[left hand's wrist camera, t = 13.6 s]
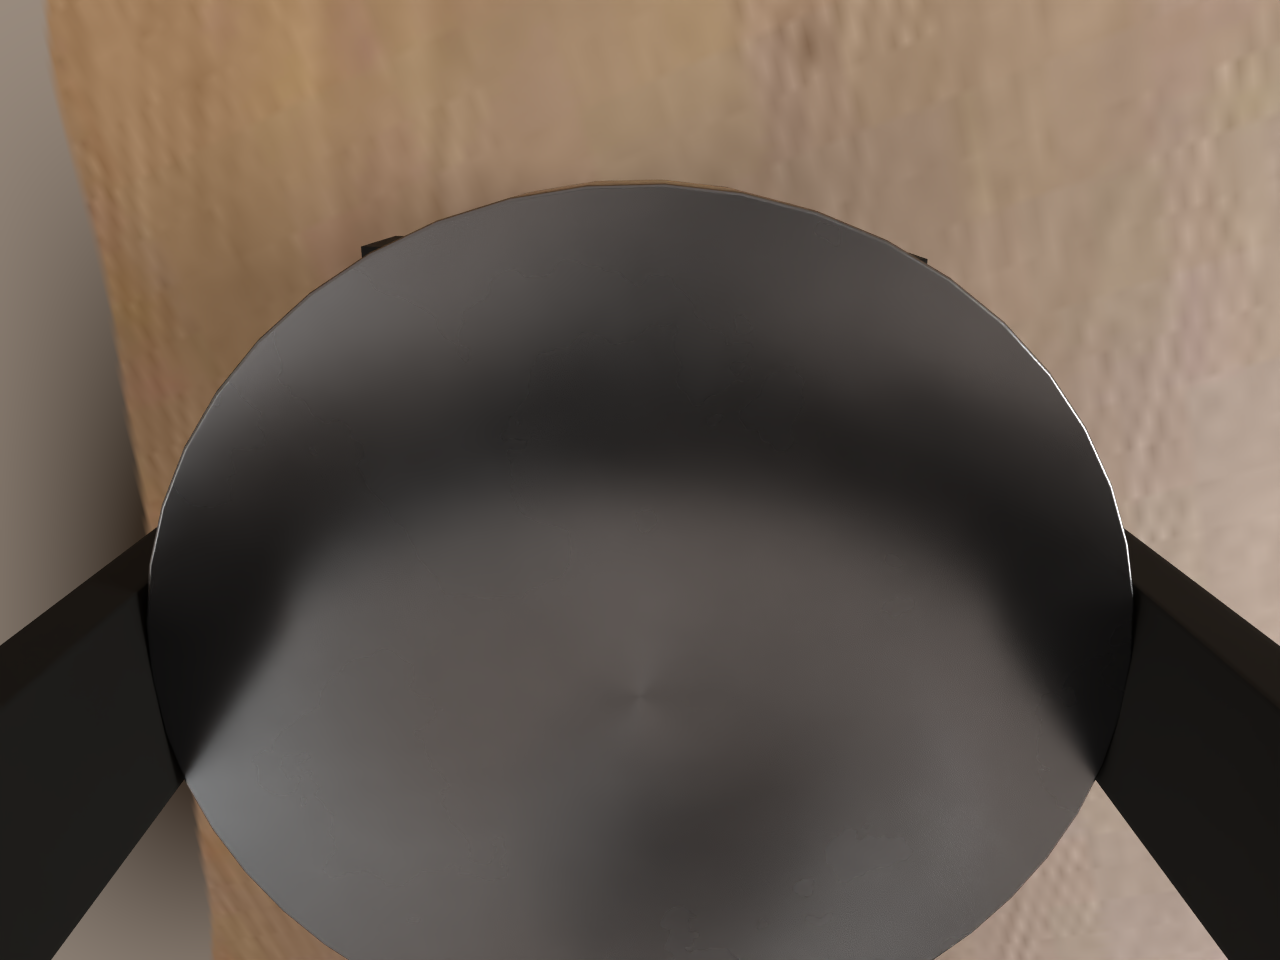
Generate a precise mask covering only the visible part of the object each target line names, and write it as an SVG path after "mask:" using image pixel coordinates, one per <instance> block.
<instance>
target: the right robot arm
mask: <svg viewBox="0 0 1280 960" xmlns="http://www.w3.org/2000/svg"><path fill="white" fill-rule="evenodd" d="M402 237H404V236H394V237H391V238H388V239H384V240H381V241H378V242H374V243H371V244H368V245H365V246H361V252H362V258H363V257H364V256H366V255H367V254H369V253H370V252H372V251H375V250H377V249H379V248H381V247H383V246H385V245H387V244H389V243H391V242H393V241H395V240H398V239H400V238H402ZM909 254H911V253H909ZM911 255H913V256H914V257H916V258H918V259H919V260H921V261H923V262H924V263H926V264H927V259H925V258H922V257H919V256H917V255H914V254H911Z"/></svg>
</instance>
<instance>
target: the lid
mask: <svg viewBox="0 0 1280 960" xmlns="http://www.w3.org/2000/svg"><path fill="white" fill-rule="evenodd" d="M1133 615H1134V597H1133V588H1132V579H1131V570H1130V561H1129V552H1128V543H1127V539H1126V536H1125V532H1124V528H1123V525H1122V521H1121V517H1120V514H1119V510H1118V506H1117V503H1116V499H1115V495H1114V492H1113V488H1112V485H1111V482H1110V480H1109V478H1108V476H1107V473H1106V471H1105V469H1104V467H1103V464H1102V462H1101V460H1100V458H1099V456H1098V453H1097V451H1096V449H1095V447H1094V445H1093V442H1092V440H1091V438H1090V436H1089V433H1088V431H1087V429H1086V427H1085V425H1084V424H1083V422H1082V421H1081V419H1080V418H1079V416H1078V415H1077V413H1076V412H1075V410H1074V409H1073V407H1072V406H1071V404H1070V403H1069V401H1068V400H1067V398H1066V396H1065V395H1064V393H1063V392H1062V390H1061V389H1060V387H1059V386H1058V384H1057V383H1056V381H1055V380H1054V378H1053V377H1052V375H1051V374H1050V372H1049V371H1048V370H1047V369H1046V368H1045V367H1044V366H1043V364H1042V363H1041V362H1040V361H1039V360H1038V359H1037V358H1036V357H1035V356H1034V355H1033V353H1032V352H1031V351H1030V350H1029V349H1028V348H1027V347H1026V346H1025V345H1024V343H1023V342H1022V341H1021V340H1020V339H1019V338H1018V337H1017V336H1016V335H1015V334H1014V332H1013V331H1012V330H1011V329H1010V328H1009V327H1008V326H1007V325H1006V324H1005V322H1003V321H1002V320H1001V319H1000V318H998V317H997V316H996V315H995V314H994V313H992V312H991V311H990V310H989V309H987V308H986V307H985V306H984V305H983V304H981V303H980V302H979V301H978V300H976V299H975V298H974V297H973V296H972V295H970V294H969V293H968V292H967V291H965V290H964V289H963V288H962V287H961V286H959V285H958V284H957V283H956V282H954V281H953V280H952V279H951V278H949V277H948V276H946V275H944V274H943V273H941V272H939V271H938V270H936V269H934V268H933V267H931V266H929V265H928V264H926V263H924V262H923V261H921V260H919V259H918V258H916V257H914V256H913V255H911V254H909V253H908V252H906V251H904V250H902V249H901V248H899V247H897V246H896V245H894V244H892V243H891V242H889V241H887V240H885V239H883V238H880V237H878V236H876V235H873V234H871V233H868V232H866V231H864V230H861V229H859V228H856V227H854V226H852V225H849V224H847V223H844V222H842V221H839V220H837V219H835V218H832V217H830V216H827V215H825V214H823V213H820V212H818V211H815V210H811V209H807V208H804V207H800V206H797V205H793V204H790V203H786V202H782V201H778V200H774V199H770V198H767V197H763V196H759V195H755V194H751V193H747V192H743V191H739V190H736V189H732V188H728V187H721V186H712V185H703V184H695V183H686V182H677V181H668V180H629V181H594V182H588V183H582V184H576V185H570V186H564V187H558V188H552V189H546V190H540V191H534V192H529V193H526V194H522V195H518V196H515V197H511V198H508V199H505V200H501V201H498V202H495V203H492V204H489V205H485V206H482V207H479V208H476V209H473V210H469V211H466V212H463V213H460V214H457V215H453V216H450V217H447V218H444V219H441V220H437V221H435V222H433V223H431V224H429V225H427V226H425V227H423V228H421V229H419V230H416V231H414V232H412V233H410V234H408V235H406V236H404V237H402V238H400V239H398V240H395V241H393V242H391V243H389V244H387V245H385V246H383V247H381V248H379V249H377V250H375V251H372V252H370V253H369V254H367V255H366V256H364V257H363V258H361V259H360V260H358V261H357V262H355V263H354V264H352V265H351V266H349V267H348V268H346V269H345V270H343V271H342V272H340V273H339V274H337V275H336V276H334V277H333V278H331V279H330V280H328V281H327V282H325V283H324V284H322V285H321V286H319V287H318V288H316V289H315V290H313V291H312V292H311V293H309V294H308V295H307V296H306V297H305V298H304V299H303V300H302V301H300V302H299V303H298V304H297V305H296V306H295V307H294V308H293V309H292V310H291V311H289V312H288V313H287V314H286V315H285V316H284V317H283V318H282V319H281V320H280V321H279V322H277V323H276V324H275V325H274V326H273V327H272V328H271V329H270V330H269V331H268V332H266V333H265V334H264V335H263V336H262V337H261V338H260V339H259V340H258V341H257V342H256V343H255V345H254V346H253V347H252V348H251V350H250V351H249V352H248V353H247V355H246V356H245V357H244V358H243V360H242V361H241V362H240V363H239V364H238V366H237V367H236V368H235V369H234V371H233V372H232V373H231V374H230V376H229V377H228V378H227V379H226V381H225V382H224V383H223V384H222V386H221V387H220V388H219V389H218V390H217V392H216V393H215V395H214V397H213V399H212V400H211V402H210V404H209V406H208V407H207V409H206V411H205V412H204V414H203V416H202V418H201V419H200V421H199V423H198V425H197V426H196V428H195V430H194V431H193V433H192V435H191V437H190V438H189V440H188V442H187V444H186V445H185V447H184V450H183V452H182V455H181V457H180V460H179V462H178V465H177V468H176V470H175V473H174V475H173V478H172V481H171V483H170V486H169V488H168V491H167V494H166V496H165V499H164V501H163V504H162V508H161V513H160V517H159V522H158V527H157V532H156V536H155V541H154V546H153V550H152V555H151V560H150V564H149V582H148V601H147V619H146V624H147V634H148V644H149V654H150V665H151V673H152V679H153V683H154V687H155V692H156V696H157V700H158V705H159V709H160V713H161V717H162V721H163V725H164V729H165V733H166V735H167V737H168V740H169V742H170V745H171V747H172V750H173V752H174V755H175V757H176V759H177V762H178V764H179V767H180V769H181V772H182V774H183V777H184V779H185V781H186V784H187V785H188V787H189V789H190V790H191V792H192V794H193V796H194V797H195V799H196V801H197V803H198V804H199V806H200V808H201V810H202V811H203V813H204V815H205V817H206V818H207V820H208V822H209V823H210V825H211V827H212V829H213V830H214V831H215V833H216V834H217V835H218V837H219V838H220V839H221V841H222V842H223V843H224V845H225V846H226V847H227V849H228V850H229V851H230V853H231V854H232V855H233V856H234V858H235V859H236V860H237V862H238V863H239V864H240V866H241V867H242V868H243V870H244V871H245V872H246V873H247V874H248V875H249V876H250V877H251V878H252V879H253V880H254V881H255V882H256V883H257V884H258V886H259V887H260V888H261V889H262V890H263V891H264V892H265V893H266V894H267V895H268V896H269V897H270V898H271V899H272V900H273V901H274V902H275V903H276V904H277V905H278V906H279V907H280V908H281V909H282V910H283V911H284V912H285V913H287V914H288V915H289V916H290V917H291V918H293V919H294V920H295V921H296V922H298V923H299V924H300V925H301V926H303V927H304V928H305V929H306V930H307V931H309V932H310V933H311V934H312V935H314V936H315V937H316V938H317V939H318V940H320V941H321V942H322V943H323V944H325V945H326V946H328V947H329V948H331V949H333V950H334V951H336V952H337V953H339V954H340V955H342V956H343V957H345V958H346V959H348V960H934V959H935V958H936V957H938V956H939V955H941V954H942V953H944V952H945V951H946V950H948V949H949V948H951V947H952V946H954V945H955V944H956V943H958V942H959V941H961V940H962V939H964V938H965V937H966V936H968V935H969V934H971V933H972V932H973V931H974V930H975V929H976V928H978V927H979V926H980V925H981V924H982V923H983V922H984V921H986V920H987V919H988V918H989V917H990V916H991V915H992V914H993V913H995V912H996V911H997V910H998V909H999V908H1000V907H1001V906H1003V905H1004V904H1005V903H1006V902H1007V901H1008V900H1009V899H1010V898H1012V896H1013V895H1014V894H1015V893H1016V892H1017V891H1018V890H1019V889H1020V888H1021V886H1022V885H1023V884H1024V883H1025V882H1026V881H1027V880H1028V879H1029V877H1030V876H1031V875H1032V874H1033V873H1034V872H1035V871H1036V870H1037V869H1038V867H1039V866H1040V865H1041V864H1042V863H1043V862H1044V861H1045V860H1046V859H1047V857H1048V856H1049V854H1050V853H1051V852H1052V850H1053V849H1054V847H1055V846H1056V844H1057V843H1058V841H1059V840H1060V839H1061V837H1062V836H1063V834H1064V833H1065V831H1066V830H1067V828H1068V827H1069V826H1070V824H1071V823H1072V821H1073V820H1074V818H1075V817H1076V815H1077V814H1078V812H1079V810H1080V808H1081V806H1082V804H1083V803H1084V801H1085V799H1086V797H1087V795H1088V793H1089V791H1090V789H1091V787H1092V785H1093V783H1094V781H1095V779H1096V777H1097V775H1098V773H1099V771H1100V770H1101V768H1102V766H1103V763H1104V760H1105V757H1106V754H1107V752H1108V749H1109V746H1110V743H1111V740H1112V737H1113V734H1114V732H1115V729H1116V726H1117V723H1118V719H1119V715H1120V711H1121V706H1122V701H1123V697H1124V692H1125V687H1126V683H1127V678H1128V674H1129V669H1130V664H1131V659H1132V638H1133Z"/></svg>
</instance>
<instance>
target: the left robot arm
mask: <svg viewBox="0 0 1280 960" xmlns="http://www.w3.org/2000/svg"><path fill="white" fill-rule="evenodd" d="M156 532H157V528H155V529H154V530H153V531H151V532H150V533H149V534H147V535H146V536H145V537H143V538H142V539H141V540H139V541H138V542H137V543H136V544H134V545H133V546H132V547H130V548H129V549H128V550H126V551H125V552H124V553H122V554H121V555H120V556H118V557H117V558H116V559H114V560H113V561H112V562H110V563H109V564H108V565H106V566H105V567H104V568H102V569H101V570H100V571H98V572H97V573H96V574H94V575H93V576H92V577H90V578H89V579H88V580H87V581H85V582H84V583H83V584H81V585H80V586H79V587H77V588H76V589H75V590H73V591H72V592H71V593H69V594H68V595H67V596H65V597H64V598H63V599H61V600H60V601H59V602H57V603H56V604H55V605H53V606H52V607H51V608H49V609H48V610H47V611H46V612H44V613H43V614H41V615H40V616H39V617H38V618H36V619H35V620H34V621H32V622H31V623H30V624H28V625H27V626H26V627H24V628H23V629H22V630H20V631H19V632H18V633H16V634H15V635H14V636H12V637H11V638H10V639H8V640H7V641H6V642H5V643H3V644H2V645H1V646H0V960H51V959H52V958H53V956H54V955H55V954H56V952H57V951H58V950H59V948H60V947H61V946H62V944H63V943H64V942H65V940H66V939H67V937H68V936H69V935H70V933H71V932H72V931H73V929H74V928H75V927H76V925H77V924H78V923H79V921H80V920H81V919H82V917H83V916H84V914H85V913H86V912H87V910H88V909H89V908H90V906H91V905H92V904H93V902H94V901H95V900H96V898H97V897H98V896H99V894H100V893H101V891H102V890H103V889H104V887H105V886H106V885H107V883H108V882H109V881H110V879H111V878H112V877H113V875H114V874H115V872H116V871H117V870H118V868H119V867H120V866H121V864H122V863H123V862H124V860H125V859H126V858H127V856H128V855H129V854H130V852H131V851H132V849H133V848H134V847H135V845H136V844H137V843H138V841H139V840H140V839H141V837H142V836H143V835H144V833H145V832H146V830H147V829H148V828H149V826H150V825H151V824H152V822H153V821H154V820H155V818H156V817H157V816H158V814H159V813H160V812H161V810H162V809H163V807H164V806H165V805H166V803H167V802H168V801H169V799H170V798H171V797H172V795H173V794H174V793H175V791H176V790H177V788H178V787H179V786H180V784H181V783H182V782H183V780H184V777H183V774H182V772H181V769H180V767H179V764H178V762H177V759H176V757H175V755H174V752H173V750H172V747H171V745H170V742H169V740H168V737H167V735H166V733H165V729H164V725H163V721H162V717H161V713H160V709H159V705H158V700H157V696H156V692H155V687H154V683H153V679H152V673H151V665H150V654H149V644H148V634H147V624H146V619H147V601H148V582H149V564H150V560H151V555H152V550H153V546H154V541H155V536H156ZM1124 532H1125V536H1126V539H1127V543H1128V552H1129V561H1130V570H1131V579H1132V588H1133V597H1134V615H1133V638H1132V659H1131V664H1130V669H1129V674H1128V678H1127V683H1126V687H1125V692H1124V697H1123V701H1122V706H1121V711H1120V715H1119V719H1118V723H1117V726H1116V729H1115V732H1114V734H1113V737H1112V740H1111V743H1110V746H1109V749H1108V752H1107V754H1106V757H1105V760H1104V763H1103V766H1102V768H1101V770H1100V771H1099V773H1098V775H1097V777H1096V779H1095V780H1096V781H1097V782H1098V784H1099V785H1100V786H1101V788H1102V789H1103V790H1104V792H1105V793H1106V795H1107V796H1108V797H1109V799H1110V800H1111V801H1112V803H1113V804H1114V805H1115V807H1116V808H1117V809H1118V811H1119V812H1120V814H1121V815H1122V816H1123V818H1124V819H1125V820H1126V822H1127V823H1128V824H1129V826H1130V827H1131V828H1132V830H1133V831H1134V832H1135V834H1136V835H1137V837H1138V838H1139V839H1140V841H1141V842H1142V843H1143V845H1144V846H1145V847H1146V849H1147V850H1148V851H1149V853H1150V854H1151V856H1152V857H1153V858H1154V860H1155V861H1156V862H1157V864H1158V865H1159V866H1160V868H1161V869H1162V870H1163V872H1164V873H1165V874H1166V876H1167V877H1168V879H1169V880H1170V881H1171V883H1172V884H1173V885H1174V887H1175V888H1176V889H1177V891H1178V892H1179V893H1180V895H1181V896H1182V898H1183V899H1184V900H1185V902H1186V903H1187V904H1188V906H1189V907H1190V908H1191V910H1192V911H1193V912H1194V914H1195V915H1196V916H1197V918H1198V919H1199V921H1200V922H1201V923H1202V925H1203V926H1204V927H1205V929H1206V930H1207V931H1208V933H1209V934H1210V935H1211V937H1212V938H1213V940H1214V941H1215V942H1216V944H1217V945H1218V946H1219V948H1220V949H1221V950H1222V952H1223V953H1224V954H1225V956H1226V957H1227V958H1228V960H1280V646H1279V645H1278V644H1276V643H1275V642H1274V641H1272V640H1271V639H1270V638H1268V637H1267V636H1266V635H1264V634H1263V633H1262V632H1260V631H1259V630H1258V629H1257V628H1255V627H1254V626H1253V625H1251V624H1250V623H1249V622H1247V621H1246V620H1245V619H1243V618H1242V617H1241V616H1239V615H1238V614H1237V613H1235V612H1234V611H1233V610H1231V609H1230V608H1229V607H1227V606H1226V605H1225V604H1223V603H1222V602H1221V601H1219V600H1218V599H1217V598H1215V597H1214V596H1213V595H1212V594H1210V593H1209V592H1208V591H1206V590H1205V589H1204V588H1202V587H1201V586H1200V585H1198V584H1197V583H1196V582H1194V581H1193V580H1192V579H1190V578H1189V577H1188V576H1186V575H1185V574H1184V573H1182V572H1181V571H1180V570H1178V569H1177V568H1176V567H1174V566H1173V565H1172V564H1170V563H1169V562H1168V561H1167V560H1165V559H1164V558H1163V557H1161V556H1160V555H1159V554H1157V553H1156V552H1155V551H1153V550H1152V549H1151V548H1149V547H1148V546H1147V545H1145V544H1144V543H1143V542H1141V541H1140V540H1139V539H1137V538H1136V537H1135V536H1133V535H1132V534H1131V533H1129V532H1128V531H1127V530H1126V529H1124Z"/></svg>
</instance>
